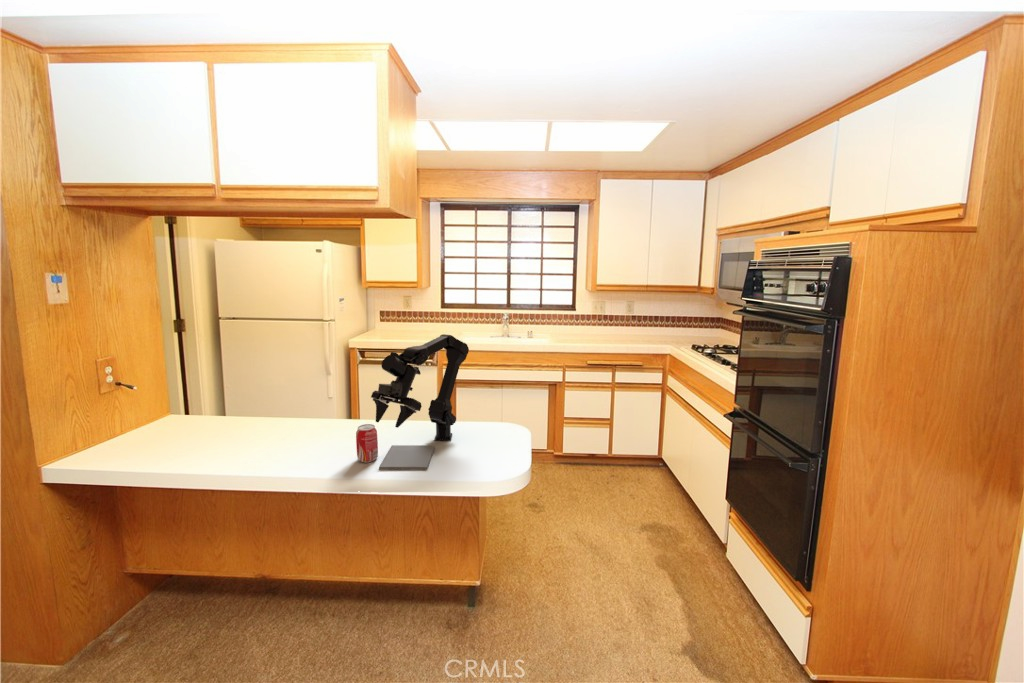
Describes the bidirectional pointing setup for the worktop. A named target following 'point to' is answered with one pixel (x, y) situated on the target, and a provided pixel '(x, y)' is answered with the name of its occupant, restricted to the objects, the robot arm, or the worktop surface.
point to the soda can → (366, 443)
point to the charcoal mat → (407, 457)
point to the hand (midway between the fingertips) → (386, 424)
